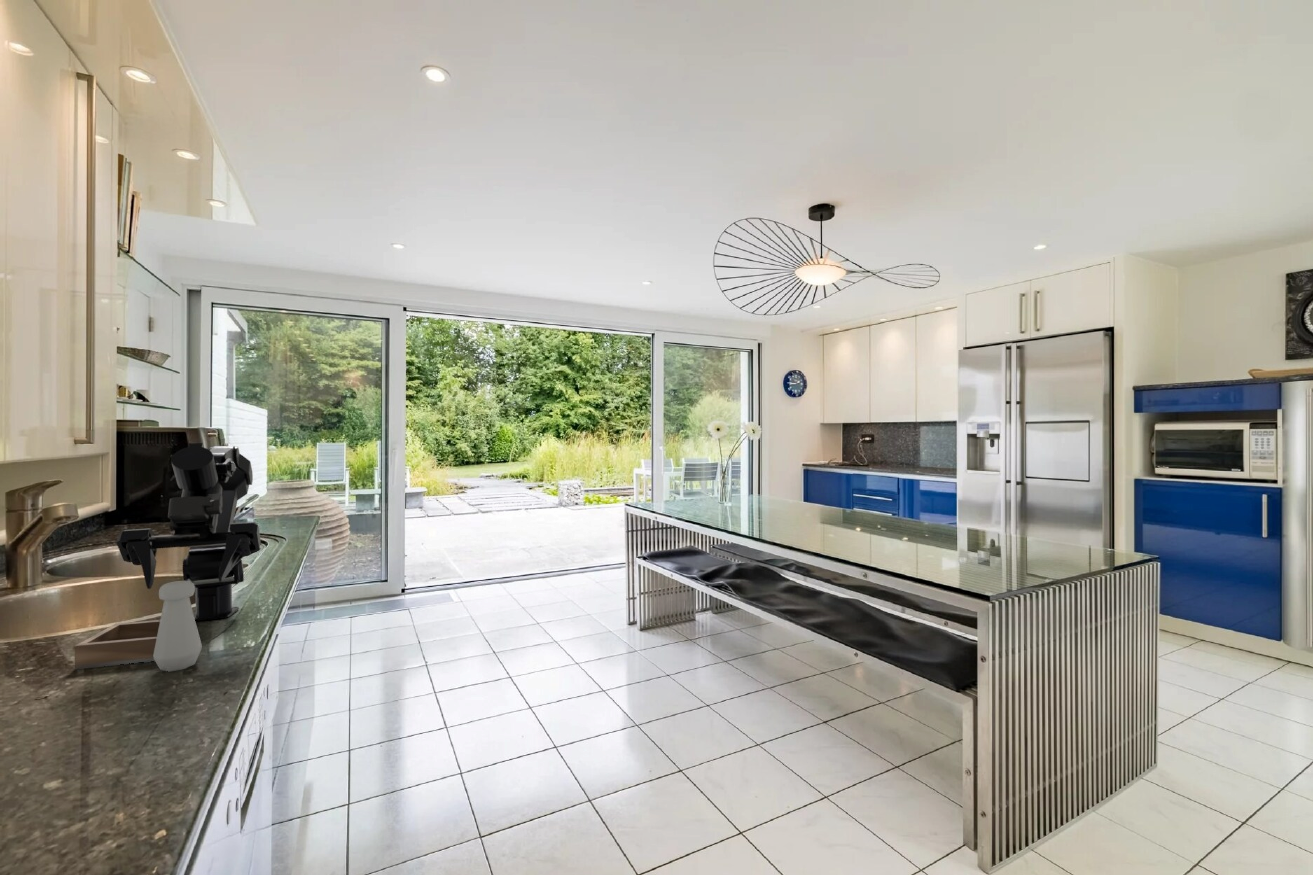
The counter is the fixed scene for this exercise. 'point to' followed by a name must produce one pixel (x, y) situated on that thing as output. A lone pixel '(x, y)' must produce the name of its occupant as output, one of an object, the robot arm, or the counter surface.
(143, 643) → the shaker dock
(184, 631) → the salt shaker
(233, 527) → the robot arm
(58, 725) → the counter surface
